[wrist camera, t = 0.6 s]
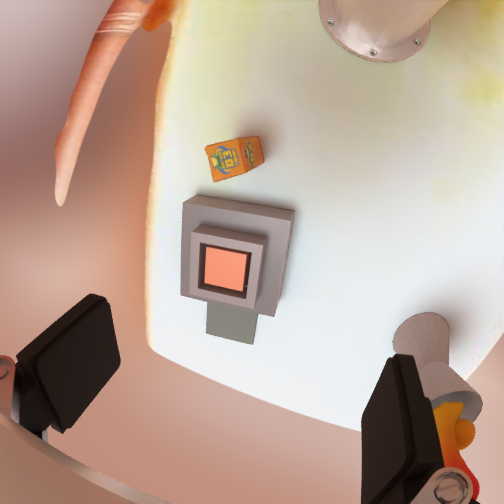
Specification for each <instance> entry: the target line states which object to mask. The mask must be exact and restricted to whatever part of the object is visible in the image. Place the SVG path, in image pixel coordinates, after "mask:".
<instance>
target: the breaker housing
mask: <svg viewBox="0 0 504 504" xmlns="http://www.w3.org/2000/svg"><path fill="white" fill-rule="evenodd" d="M294 212H295V211H291V210H285V209H280V208H274V207H268V206H262V205H257V204H251V203H245V202H239V201H233V200H226V199H220V198H214V197H207V196H200V195H195V196H194V197H192V198H190V199H188V200H187V201H185V202H183V212H182V239H181V295H182V296H186V297H190V298H194V299H198V300H202V301H206V302H210V303H214V304H218V305H223V306H227V307H231V308H236V309H240V310H245V311H249V312H254V313H258V314H263V315H267V316H272V317H274V316H275V313H276V309H277V306H278V302H279V298H280V293H281V287H282V282H283V276H284V271H285V265H286V259H287V253H288V248H289V242H290V236H291V230H292V224H293V218H294ZM209 244H211V245H216V246H221V247H226V248H231V249H236V250H241V251H247V252H252V256H251V264H250V272H249V279H248V281H247V283H246V285H245V287H244V289H243V291H238V290H234V289H229V288H225V287H220V286H216V285H211V284H207V283H204V282H205V263H206V247H207V246H208V245H209Z"/></svg>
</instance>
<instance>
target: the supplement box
mask: <svg viewBox="0 0 504 504" xmlns="http://www.w3.org/2000/svg"><path fill="white" fill-rule="evenodd" d="M205 151H206V154H207V155H208V159H209V163H210V168H211V172H212V180H213V182H218V181H221V180H224V179H228V178H231V177H234V176H238V175H241V174H244V173H246V172H248V171H250V170H252V169H254V168H255V167H257V166H259V165H261V164H262V163H264V158H263V154H262V149H261V145H260V141H259V138H258V137H246V138H236V139H232V140H228V141H224V142H220V143H215V144H211V145H208V146H206V147H205Z"/></svg>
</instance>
